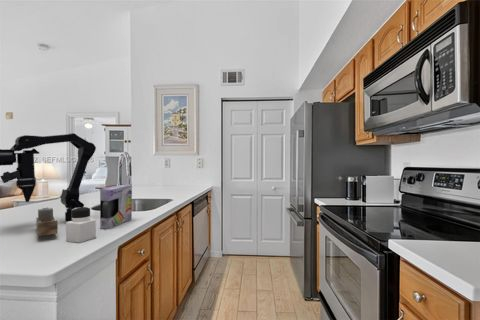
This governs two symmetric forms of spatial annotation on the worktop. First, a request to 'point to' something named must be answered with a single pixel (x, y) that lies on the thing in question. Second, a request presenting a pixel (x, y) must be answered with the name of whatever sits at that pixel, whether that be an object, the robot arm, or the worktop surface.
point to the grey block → (45, 214)
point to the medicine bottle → (80, 226)
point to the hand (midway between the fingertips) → (27, 200)
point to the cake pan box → (115, 205)
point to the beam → (47, 227)
